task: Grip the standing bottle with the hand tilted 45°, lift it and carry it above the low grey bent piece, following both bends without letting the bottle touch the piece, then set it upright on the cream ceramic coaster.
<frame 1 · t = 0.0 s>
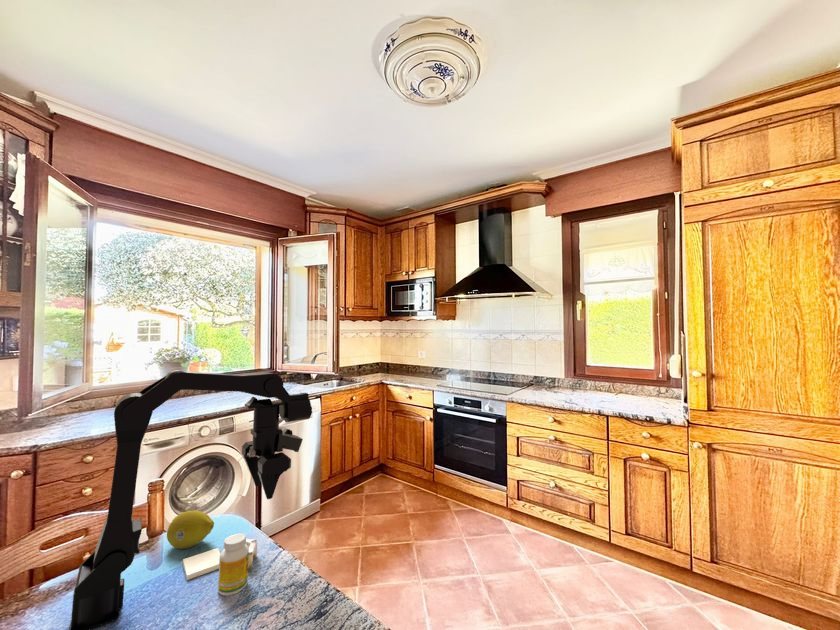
hand: (263, 492, 82), 15 cm above the table, tool pointing down, fingers open, 9 cm apart
cream coaster: (203, 565, 78), on the table
grey bent piece: (244, 560, 80), on the table
lemon: (188, 546, 85), on the table
supplement bottle: (232, 588, 71), on the table
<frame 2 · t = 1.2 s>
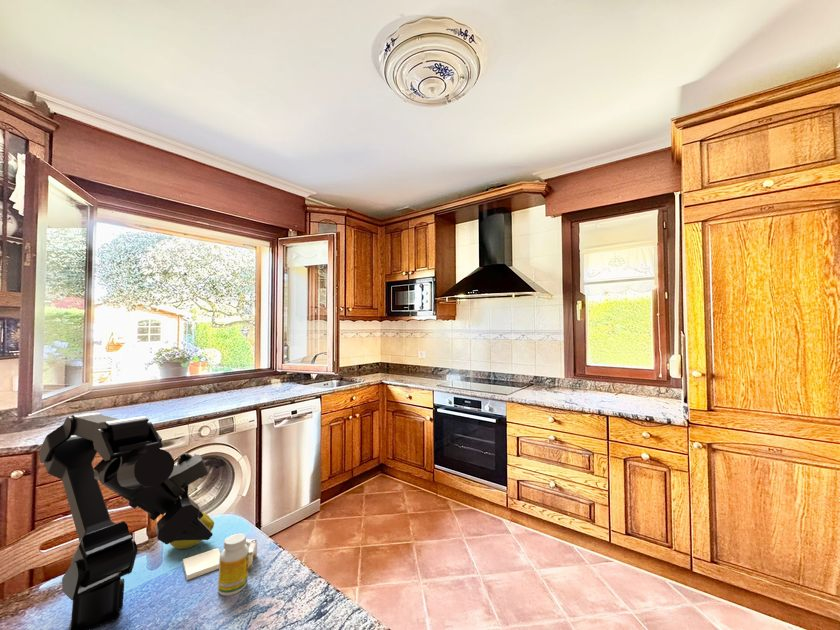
hand: (205, 526, 69), 13 cm above the table, tool tilted 45°, fingers open, 9 cm apart
nothing on the table moved.
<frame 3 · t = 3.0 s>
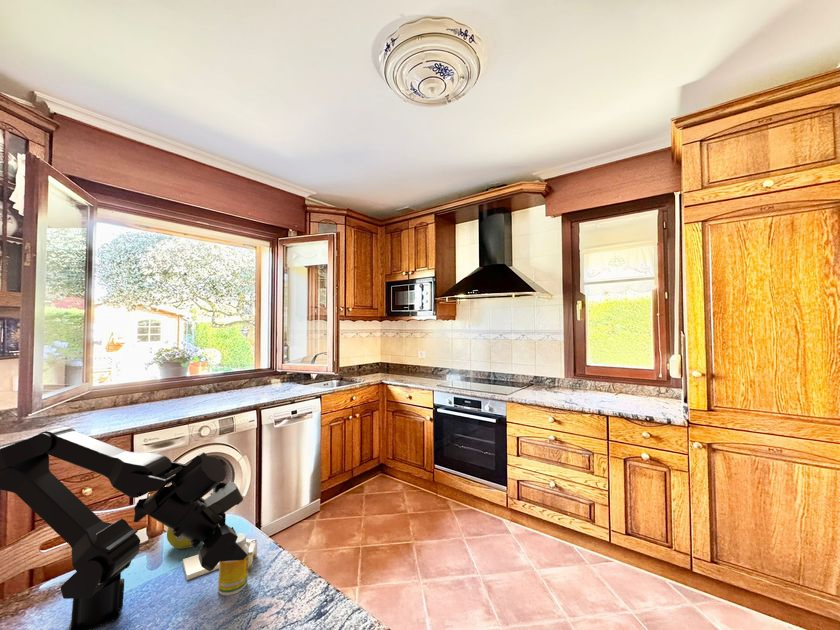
hand: (241, 550, 72), 7 cm above the table, tool tilted 45°, fingers closed on supplement bottle, 5 cm apart
supplement bottle: (232, 588, 71), on the table, touching gripper
everything else where it was.
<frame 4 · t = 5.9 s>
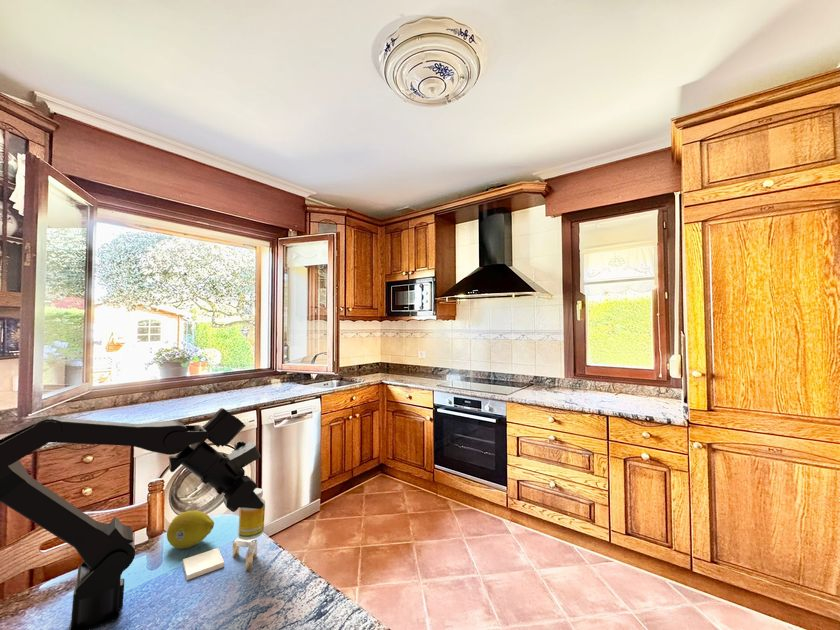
hand: (259, 502, 82), 12 cm above the table, tool tilted 45°, fingers closed on supplement bottle, 5 cm apart
supplement bottle: (251, 535, 80), point 5 cm above the table, touching gripper
everything else where it was.
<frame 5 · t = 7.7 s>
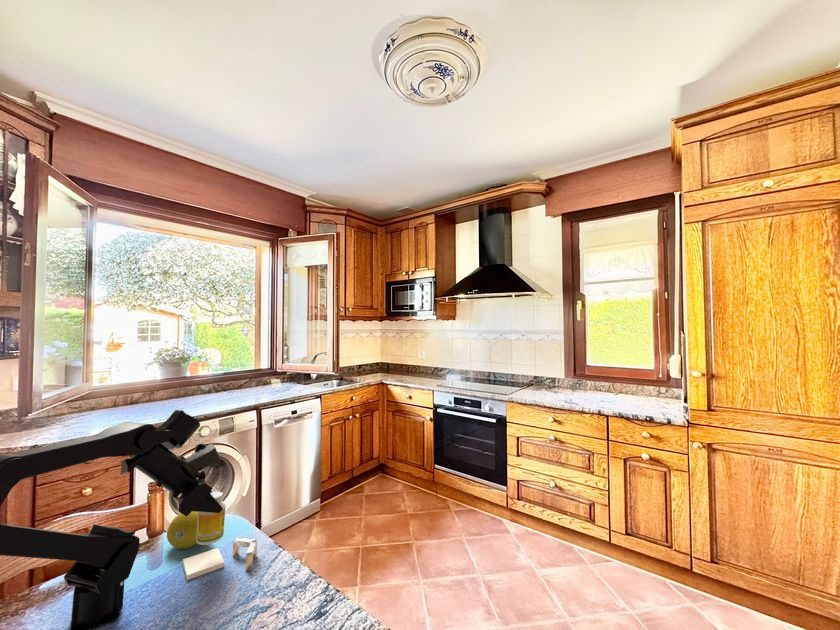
hand: (219, 506, 80), 12 cm above the table, tool tilted 45°, fingers closed on supplement bottle, 5 cm apart
supplement bottle: (210, 540, 79), point 5 cm above the table, touching gripper
everything else where it was.
when the fingers open (9 cm above the table, at t = 9.1 s): supplement bottle drops 1 cm, resting on cream coaster.
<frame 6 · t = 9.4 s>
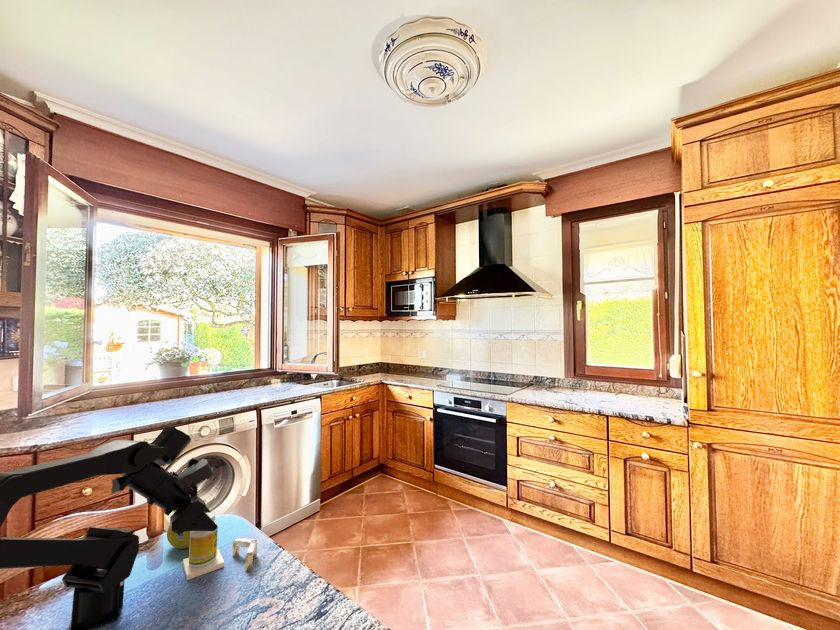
hand: (212, 521, 79), 9 cm above the table, tool tilted 45°, fingers open, 8 cm apart
supplement bottle: (202, 561, 78), point 1 cm above the table, touching cream coaster
everything else where it was.
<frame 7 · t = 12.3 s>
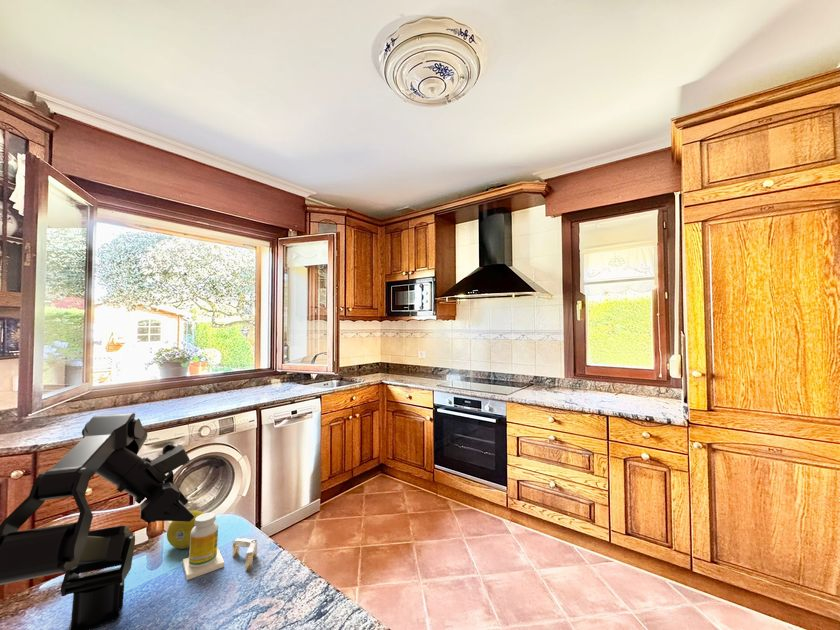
hand: (189, 510, 75), 14 cm above the table, tool tilted 45°, fingers open, 9 cm apart
nothing on the table moved.
at the end: supplement bottle 0.1 cm off-centre on the cream coaster, point 0.8 cm above the cream coaster's base; supplement bottle tilted 0°; supplement bottle touching cream coaster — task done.
